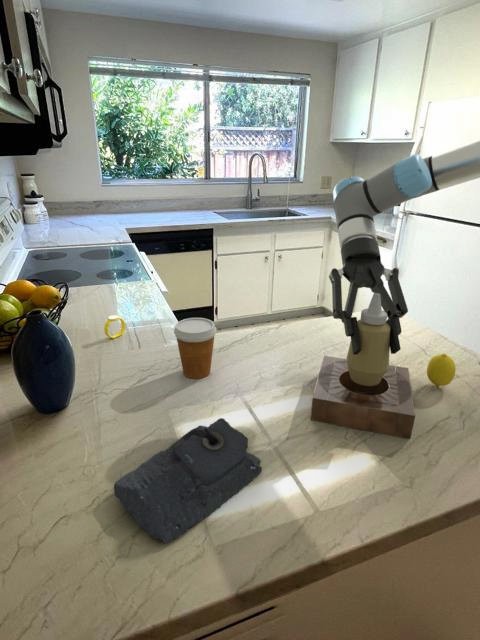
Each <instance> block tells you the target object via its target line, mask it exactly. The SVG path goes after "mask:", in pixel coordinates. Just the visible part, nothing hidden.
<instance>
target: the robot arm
mask: <svg viewBox="0 0 480 640" xmlns="http://www.w3.org/2000/svg"><path fill="white" fill-rule="evenodd" d="M477 179H480V138H477V139H474V140H472V141H468V142H466V143H463V144H460V145H458V146H455V147H452V148H449V149H447V150H444V151H441V152H439V153H436V154H433V155H430V156H427V157H424V158H422V156H421V155H420V154H416V153H415V154H411V155H410V156H409V155H408V157H405V158H403V159H400V160H398V161H397V162H396V163H394V164H393V165H391V166H389V167H387V168H385V169H384V170H382V171H380V172H378V173H377V174H375V175H373V176H371V177H369V178H367V179H364V178H363V177H360V176H350V177H348V178H347V177H345V178H343V179H341V180H340V181H338V182H337V183H336V185H335V186H334V188H333V191H332V199H333V200H332V201H333V203H332V204H333V205H332V206H333V207H332V208H333V210H334V214H335V221H336V227H337V235H338V241H339V248H340V256H341V257H340V258H341V263H342V267H341V268H339V269H337V268H336V267H335V268H332V269H331V271H330V273H329V276H328V278H329V281H330V283H331V293H332V294H331V295H332V296H331V297H332V298H331V299H332V318H333V319H335V320H338V319H339V320H340V321H341V322H342V324H343V327H344V334H345V336H346V337H349V338H350V342H351V343H352V350H353V355H357V354H358V353H359V352H360V351H361V350H362V349H361V343H360V336H359V330H358V323H357V321H358V317H357V316H353V313H354V308H355V304H356V301H357V296H358V291H359V289H361V288H366V289H370V291H371V293H373V294H374V293H379V294H380V297H381V308H382V310H383V311H385V312H386V313H387V320H386V323H387V324H389V326H390V328H391V330H390V354H391V355H396V354H397V353H398V352H400V350H402V348H401V343H400V339H399V338H400V337H399V336H400V335H401V334H402V326H401V320H400V319H402V318H403V317H405V315H406V314H407V313H408V312H409V309H408V305H407V303H406V299H405V296H404V293H403V290H402V287H401V283H400V280H399V274H400V270H399V268H397V267H393V268H392V269H390V268H386V267H385V266H384V264H383V263H382V257H381V252H380V245H379V242H378V236H377V231H376V226H375V220H374V219H375V218H374V217H375V216H377V215H379V214H381V213H383V212H386V211H387V210H389V209H392V208H394V207H396V206H398V205H402V204H404V203H405V202H408V201H411V200H413V199H417V198H420V197H423V196H426V195H430V194H432V193H435V192H438V191H441V190H444V189H448V188H451V187H454V186H458V185H460V184H461V185H462V184H464V183H467V182H470V181H473V180H477ZM382 276H384V278H385V281H387V286H388V290H389V292H388V291H387V289H386V287H385V285H384V284H385V283H384V281H383V279H382ZM343 277H344V278H345V279H346V280H347V281H348V282H349V287H348V293H347V297H346V302H345V306H344V310H343V290H342V279H343ZM389 293H390V294H389Z"/></svg>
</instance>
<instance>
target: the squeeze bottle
mask: <svg viewBox="0 0 480 640" xmlns="http://www.w3.org/2000/svg"><path fill="white" fill-rule="evenodd" d="M387 320H388V317H387V313H386V312H385V311H384V310H383V308H382V306H381V297H380V294H379V293H373V294H372V297H371V299H370V302H369V304H368V307H367V308H364V309H362V310H361V312H360V319H357V323H358V330H359V336H360V343H361V349H362V350H361V351H360V352H359V353H358V354H357V355H353V350H352V343H351V341H350V343H349V346H348V350H347V355H346V358H345V359H346V361H347V366H348V370H349V374H350V378H351V379H352V380H353V381H354V382H356V383H358V384H361V385H365V386H373V385H377V384H379V383H380V381H381V379H382V378H383V376H384V374H385V372H386V371H387V369H388V367H389V365H390V354H391V351H390V330H391V328H390V326H389V324H387V323H386V321H387Z"/></svg>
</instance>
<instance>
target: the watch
mask: <svg viewBox="0 0 480 640" xmlns="http://www.w3.org/2000/svg"><path fill="white" fill-rule="evenodd" d="M118 320H119V321H120V324H121V325H120V330H119V332H117V333H115V334H114V335H111V334H110V333H109V328H110V325H111V323H112V322H116V321H118ZM103 330H104V334H105V335H106V337H108V338H110V339H114V340H115V339H116V338H118V337H120V336H123V334H124V332H125V331H126V321H125V320H124V319H123V318H122V317H120V316H119V315H117V314H112V315H109V316H108V317H107V320H106V322H105V324H104V327H103Z"/></svg>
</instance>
